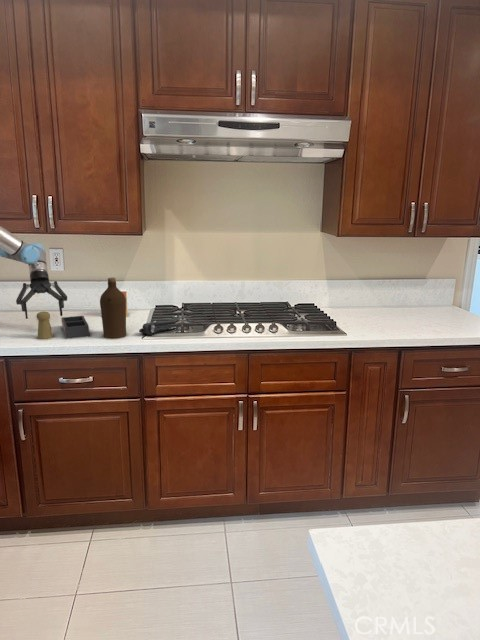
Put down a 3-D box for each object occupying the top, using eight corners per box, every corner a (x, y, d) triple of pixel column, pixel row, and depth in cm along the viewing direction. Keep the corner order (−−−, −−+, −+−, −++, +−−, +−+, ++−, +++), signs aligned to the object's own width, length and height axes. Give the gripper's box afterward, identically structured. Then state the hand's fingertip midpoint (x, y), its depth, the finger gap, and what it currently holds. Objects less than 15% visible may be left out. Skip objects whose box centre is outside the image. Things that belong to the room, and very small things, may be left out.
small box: (110, 317, 228) (109, 291, 224) (111, 314, 234) (109, 288, 230) (127, 316, 230) (126, 291, 226) (127, 313, 236) (126, 288, 232)
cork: (56, 336, 197) (53, 311, 194) (44, 340, 192) (41, 314, 189) (46, 334, 200) (44, 309, 197) (34, 338, 195) (31, 312, 192)
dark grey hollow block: (65, 338, 194) (64, 327, 193) (62, 327, 210) (61, 317, 209) (89, 336, 198) (88, 325, 197) (84, 325, 214) (83, 315, 212)
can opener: (145, 337, 197) (145, 325, 195) (137, 334, 202) (137, 321, 200) (180, 330, 208) (180, 318, 207) (172, 326, 213) (171, 315, 212)
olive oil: (130, 337, 197) (127, 279, 191) (105, 340, 193) (101, 281, 186) (124, 331, 206) (121, 275, 200) (99, 333, 202) (96, 277, 195)
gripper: (6, 271, 197) (10, 313, 188) (68, 268, 207) (75, 308, 198) (8, 281, 203) (12, 323, 194) (68, 277, 213) (75, 317, 204)
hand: (44, 315), depth 196 cm, fingers open, 13 cm apart
